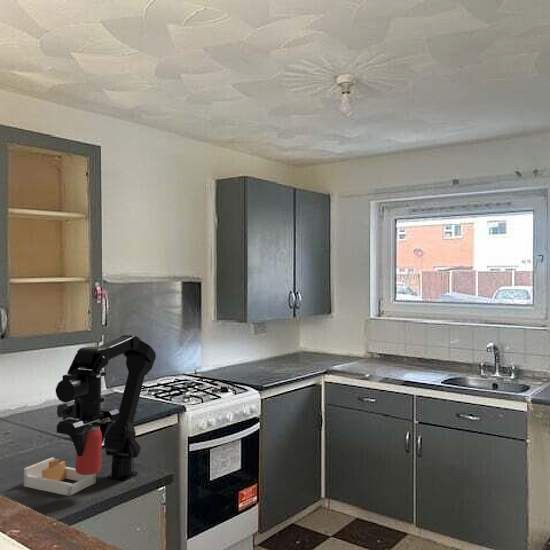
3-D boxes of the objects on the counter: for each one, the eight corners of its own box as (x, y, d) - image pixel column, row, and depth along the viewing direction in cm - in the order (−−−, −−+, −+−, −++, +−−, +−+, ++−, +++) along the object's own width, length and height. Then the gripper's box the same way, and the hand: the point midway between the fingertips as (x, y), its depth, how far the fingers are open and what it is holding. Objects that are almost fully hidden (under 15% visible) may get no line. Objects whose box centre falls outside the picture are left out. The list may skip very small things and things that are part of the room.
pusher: (62, 478, 165) (62, 456, 165) (65, 478, 165) (65, 456, 165) (41, 487, 158) (42, 464, 158) (44, 488, 157) (44, 464, 157)
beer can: (104, 467, 156) (104, 424, 156) (97, 476, 149) (98, 430, 149) (79, 467, 156) (80, 423, 156) (72, 475, 149) (73, 430, 149)
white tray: (51, 474, 168) (52, 457, 168) (95, 482, 162) (96, 465, 162) (23, 486, 158) (24, 468, 158) (69, 495, 152) (69, 477, 152)
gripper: (89, 385, 164) (88, 439, 164) (40, 398, 147) (39, 458, 147) (121, 389, 160) (120, 444, 160) (74, 402, 143) (73, 464, 143)
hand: (88, 452), depth 152 cm, fingers closed on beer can, 7 cm apart
